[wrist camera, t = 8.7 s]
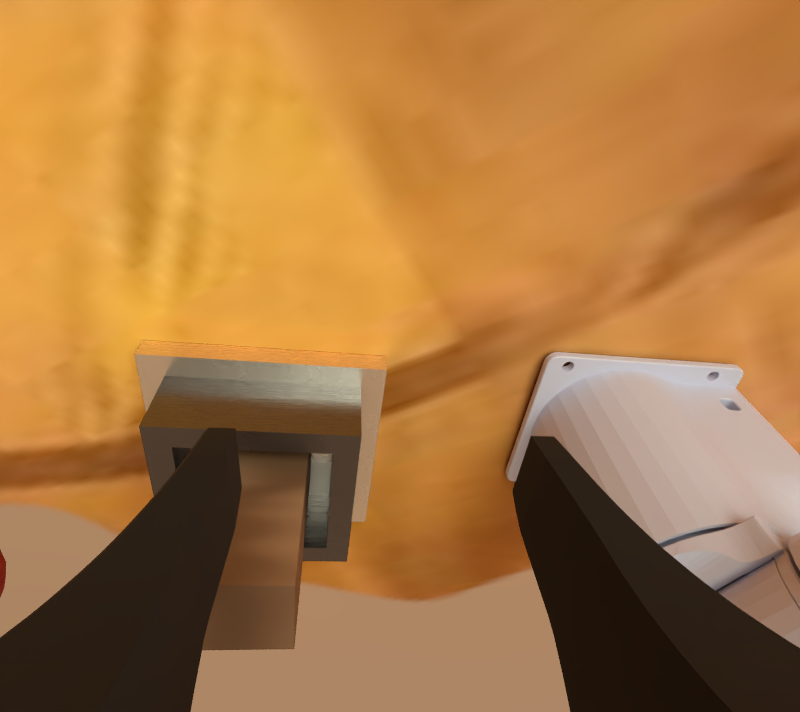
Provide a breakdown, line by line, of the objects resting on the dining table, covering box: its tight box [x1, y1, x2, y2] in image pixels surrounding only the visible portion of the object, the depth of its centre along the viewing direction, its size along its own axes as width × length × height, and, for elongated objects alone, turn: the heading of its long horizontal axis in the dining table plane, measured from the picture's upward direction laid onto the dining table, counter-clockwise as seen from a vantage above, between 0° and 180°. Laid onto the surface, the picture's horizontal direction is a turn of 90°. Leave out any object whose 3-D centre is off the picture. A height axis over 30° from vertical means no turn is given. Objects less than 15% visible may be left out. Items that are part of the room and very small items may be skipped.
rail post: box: [202, 450, 311, 650], centre depth 20 cm, size 4×4×8 cm
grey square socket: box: [135, 340, 387, 561], centre depth 23 cm, size 10×10×4 cm
